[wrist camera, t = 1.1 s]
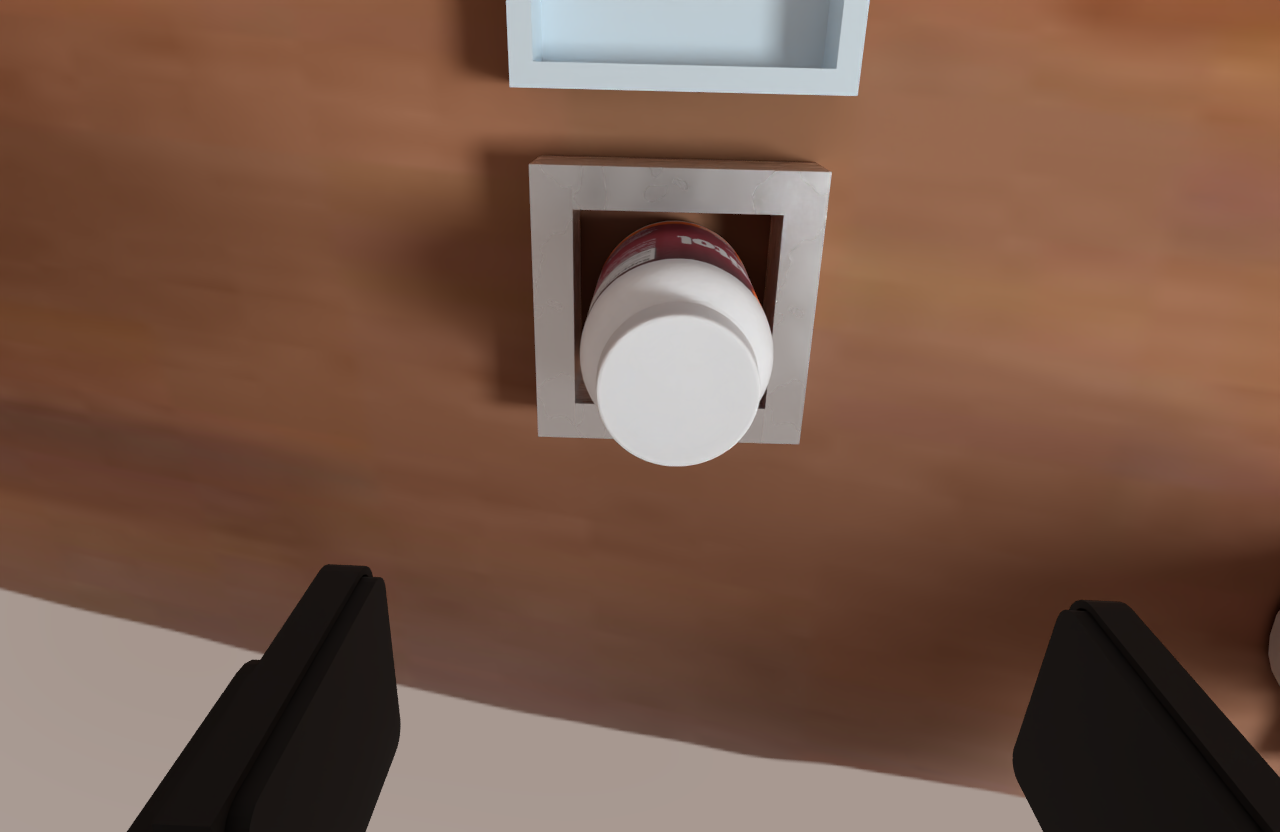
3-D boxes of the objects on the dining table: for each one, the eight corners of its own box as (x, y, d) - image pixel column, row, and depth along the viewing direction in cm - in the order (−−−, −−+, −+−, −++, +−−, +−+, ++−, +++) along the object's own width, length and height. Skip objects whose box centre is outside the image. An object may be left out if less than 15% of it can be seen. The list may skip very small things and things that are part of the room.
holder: (787, 413, 34) (799, 444, 31) (548, 406, 34) (538, 436, 31) (815, 162, 29) (831, 171, 27) (540, 155, 30) (528, 163, 27)
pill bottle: (779, 302, 32) (835, 409, 22) (663, 391, 34) (665, 529, 23) (683, 182, 30) (696, 240, 20) (565, 283, 32) (523, 383, 22)
